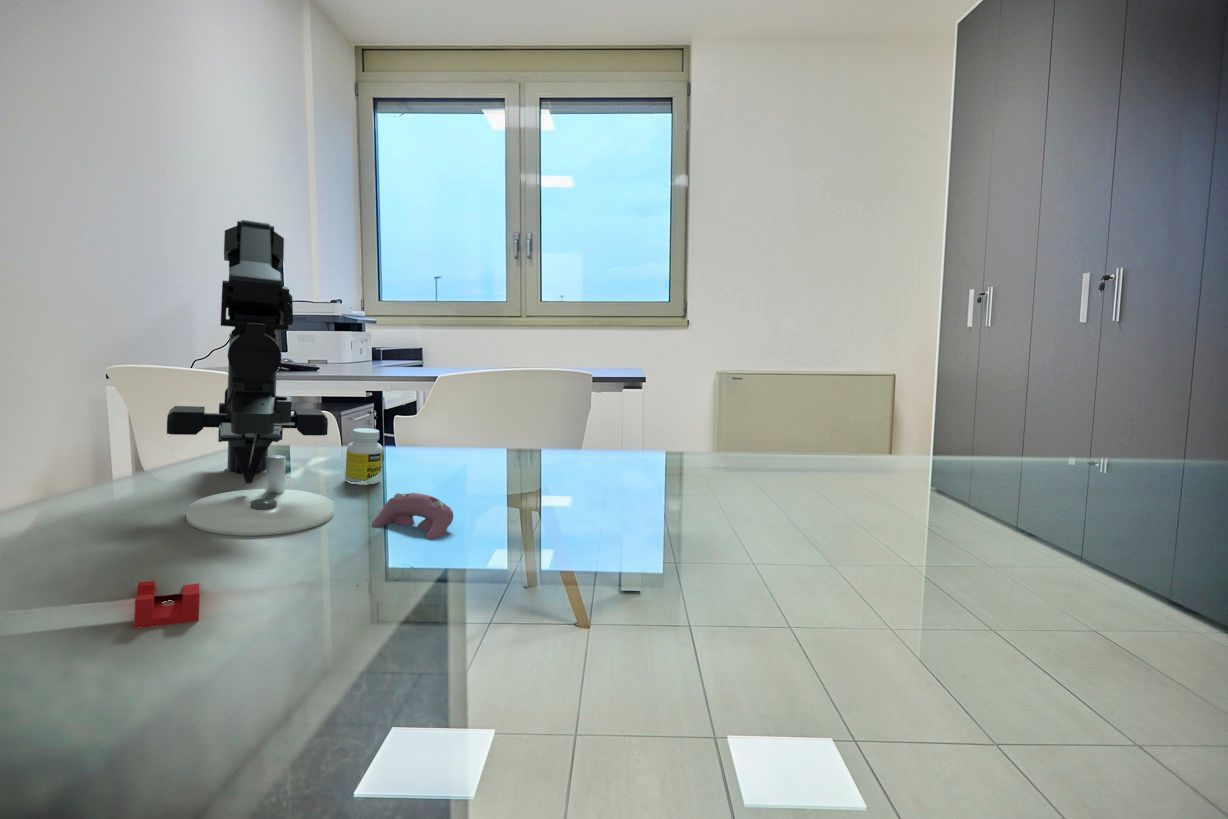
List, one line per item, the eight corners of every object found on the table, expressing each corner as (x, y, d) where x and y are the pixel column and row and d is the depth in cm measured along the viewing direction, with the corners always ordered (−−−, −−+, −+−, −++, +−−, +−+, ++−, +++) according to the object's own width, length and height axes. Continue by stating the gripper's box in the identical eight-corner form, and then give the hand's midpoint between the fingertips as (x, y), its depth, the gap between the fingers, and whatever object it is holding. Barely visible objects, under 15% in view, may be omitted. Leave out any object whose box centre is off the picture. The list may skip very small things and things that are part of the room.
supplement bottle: (368, 496, 105) (371, 435, 104) (337, 491, 106) (340, 430, 105) (386, 488, 110) (390, 430, 109) (357, 483, 111) (360, 425, 110)
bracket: (198, 624, 62) (199, 593, 62) (134, 632, 59) (134, 600, 59) (198, 596, 67) (199, 567, 67) (139, 602, 65) (139, 573, 64)
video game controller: (446, 555, 88) (462, 504, 91) (429, 549, 84) (447, 495, 86) (383, 540, 91) (400, 491, 93) (364, 534, 87) (382, 482, 89)
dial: (281, 489, 99) (283, 449, 98) (361, 515, 91) (363, 472, 90) (157, 512, 84) (158, 465, 84) (239, 546, 76) (240, 495, 75)
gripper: (164, 374, 78) (162, 503, 80) (336, 381, 88) (329, 497, 90) (171, 363, 88) (168, 478, 90) (325, 370, 97) (319, 475, 99)
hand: (248, 482), depth 92 cm, fingers closed
